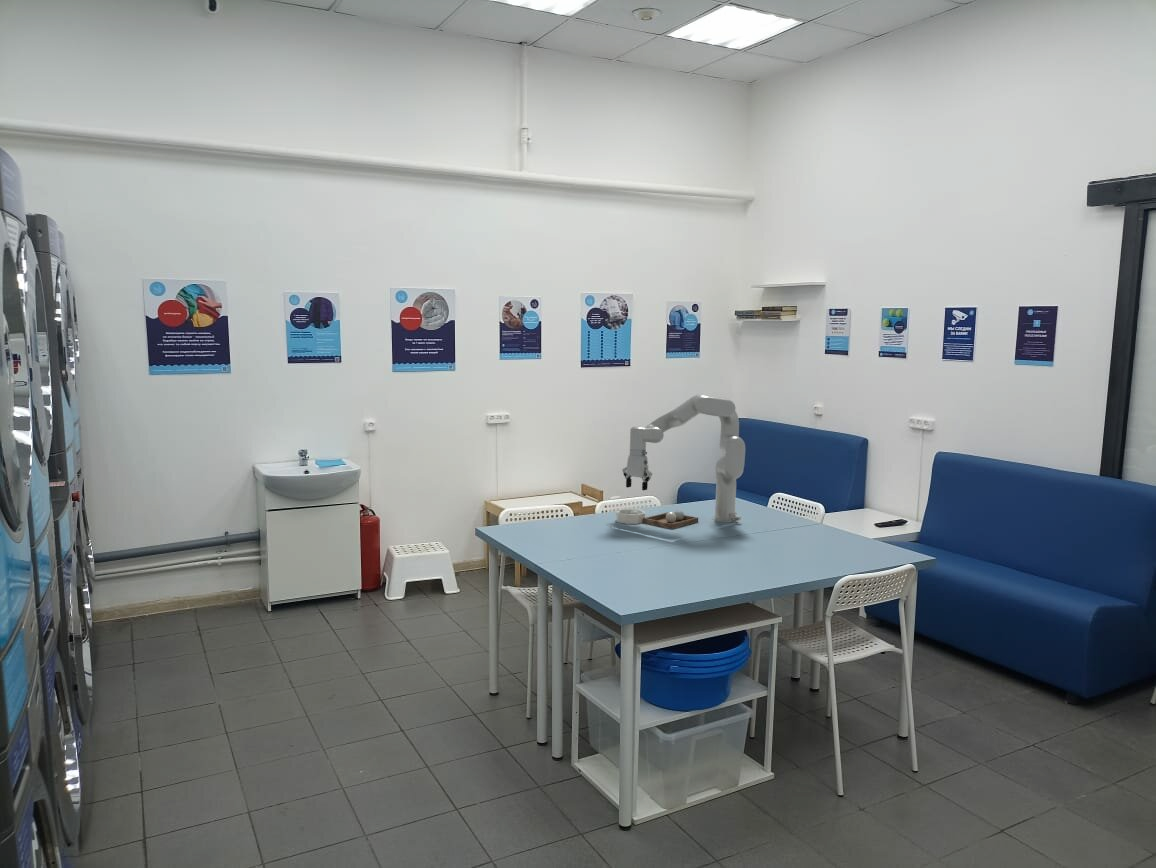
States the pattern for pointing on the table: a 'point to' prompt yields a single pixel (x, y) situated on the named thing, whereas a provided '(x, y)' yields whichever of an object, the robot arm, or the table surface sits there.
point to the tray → (662, 522)
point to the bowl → (629, 516)
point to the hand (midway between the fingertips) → (636, 488)
